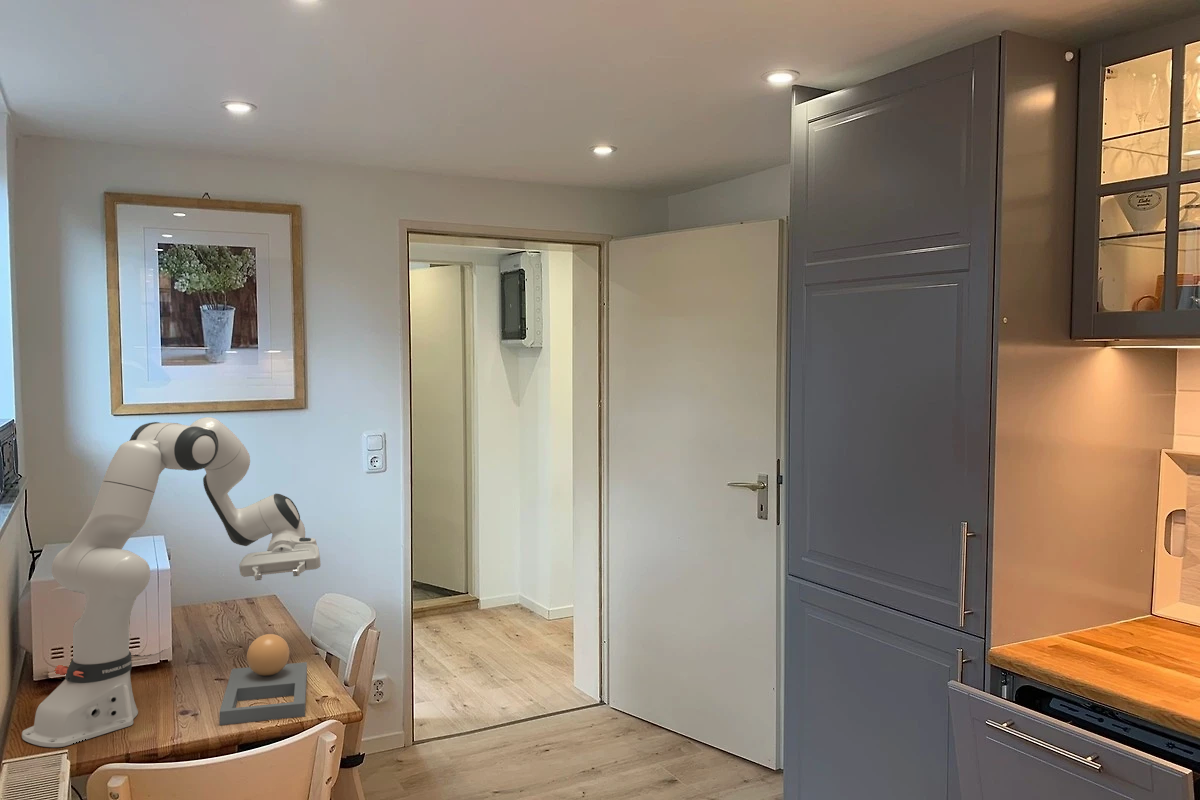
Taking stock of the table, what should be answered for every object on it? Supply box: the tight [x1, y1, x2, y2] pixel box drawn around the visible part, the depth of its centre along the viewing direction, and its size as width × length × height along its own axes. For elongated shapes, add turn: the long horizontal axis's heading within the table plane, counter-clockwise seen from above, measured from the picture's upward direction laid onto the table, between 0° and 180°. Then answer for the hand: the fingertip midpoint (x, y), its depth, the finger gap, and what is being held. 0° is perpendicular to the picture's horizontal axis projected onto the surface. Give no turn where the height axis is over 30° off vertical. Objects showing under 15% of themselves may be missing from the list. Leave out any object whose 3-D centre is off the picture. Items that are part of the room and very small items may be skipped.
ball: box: [246, 633, 291, 676], centre depth 218 cm, size 10×10×10 cm
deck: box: [218, 661, 308, 726], centre depth 211 cm, size 29×18×3 cm, turn 18°
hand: (276, 575), depth 226 cm, fingers open, 8 cm apart
